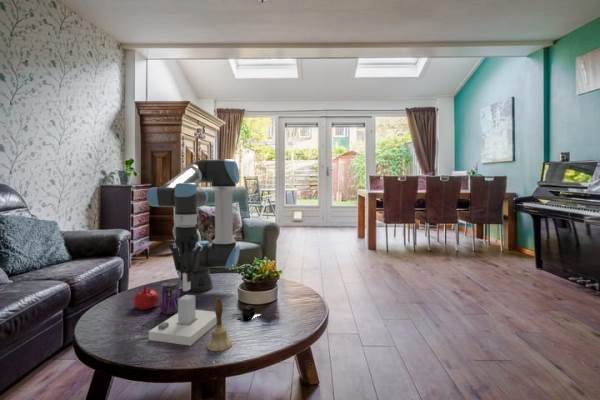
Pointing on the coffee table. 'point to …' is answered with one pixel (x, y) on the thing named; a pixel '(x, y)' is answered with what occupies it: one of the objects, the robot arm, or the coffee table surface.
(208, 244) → the robot arm
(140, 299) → the pomegranate
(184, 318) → the plug
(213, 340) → the hand bell
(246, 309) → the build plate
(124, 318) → the coffee table surface
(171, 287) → the beverage can
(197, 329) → the socket plate
